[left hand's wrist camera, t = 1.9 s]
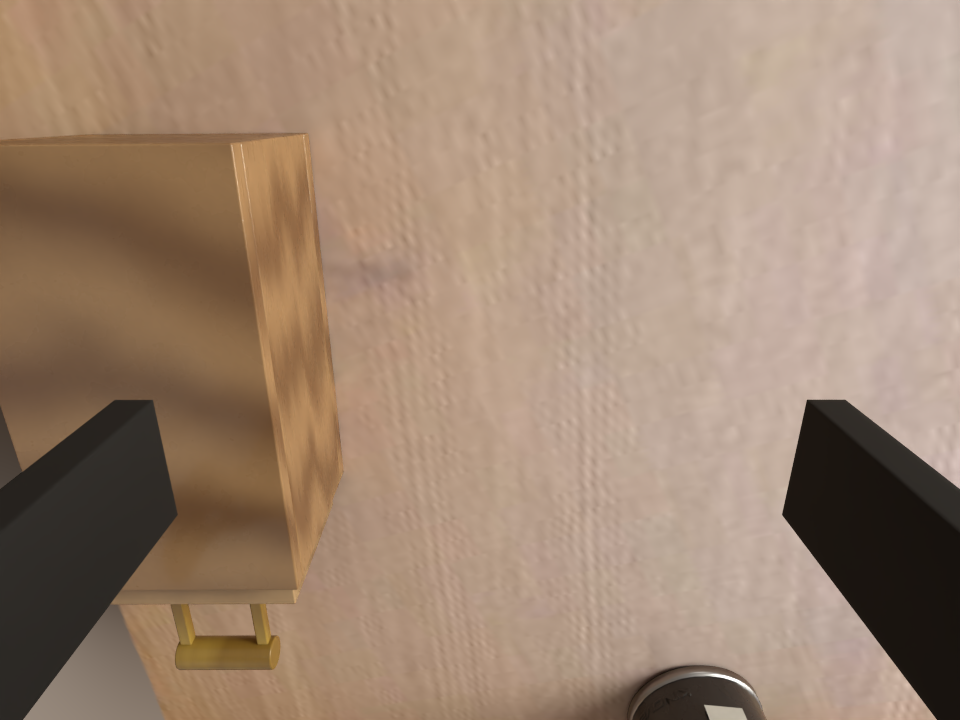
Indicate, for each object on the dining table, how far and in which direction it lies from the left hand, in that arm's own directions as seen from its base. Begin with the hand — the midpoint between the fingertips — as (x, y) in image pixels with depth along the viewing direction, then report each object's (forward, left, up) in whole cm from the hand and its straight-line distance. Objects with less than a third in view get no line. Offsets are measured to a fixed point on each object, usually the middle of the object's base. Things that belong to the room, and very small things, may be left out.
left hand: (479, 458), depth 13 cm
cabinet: (+5, -13, -21) cm, 26 cm away
